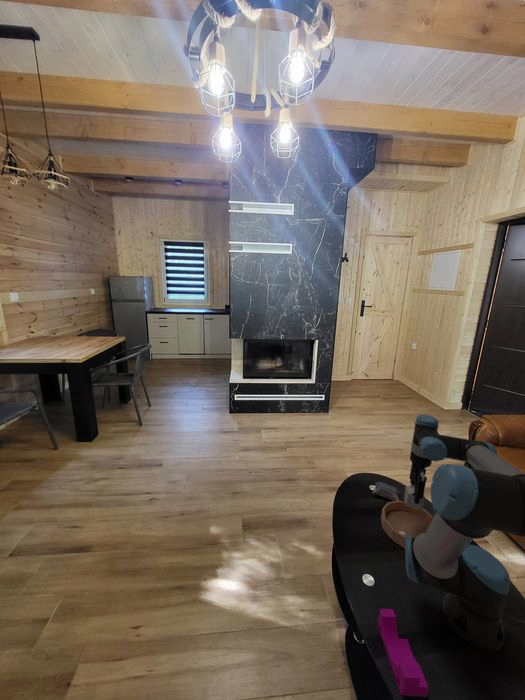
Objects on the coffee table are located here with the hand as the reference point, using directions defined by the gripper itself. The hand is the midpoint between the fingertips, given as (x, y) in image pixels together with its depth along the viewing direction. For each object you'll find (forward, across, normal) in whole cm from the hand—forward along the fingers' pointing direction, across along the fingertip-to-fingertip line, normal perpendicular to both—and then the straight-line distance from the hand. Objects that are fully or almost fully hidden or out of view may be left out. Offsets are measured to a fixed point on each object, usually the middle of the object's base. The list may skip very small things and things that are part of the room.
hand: (413, 503), depth 116 cm
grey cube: (0, 0, 0) cm, 0 cm away
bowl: (+13, 0, 0) cm, 13 cm away
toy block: (+14, -48, +11) cm, 51 cm away
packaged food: (+15, +17, +11) cm, 25 cm away
